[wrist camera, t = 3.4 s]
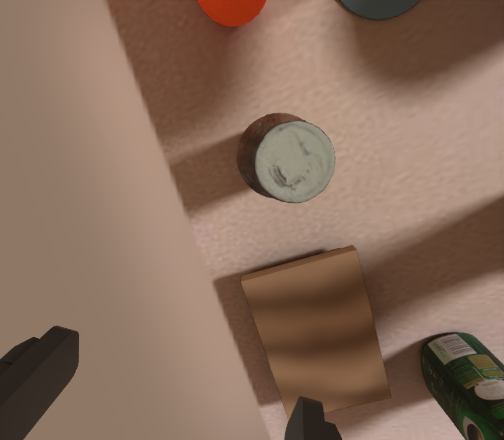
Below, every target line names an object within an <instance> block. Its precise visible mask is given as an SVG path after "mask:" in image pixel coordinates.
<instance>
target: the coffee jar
mask: <svg viewBox="0 0 504 440" xmlns="http://www.w3.org/2000/svg"><path fill="white" fill-rule="evenodd" d="M421 357H422V370H423V375H424V379H425V382H426V385H427V387H428V390H429V391H430V393H431V394H432V395H433V397H434V398H435V400H436V401H437V402H438V404H439V405H440V406H441V408H442V409H443V410H444V411H445V413H446V414H447V415H448V417H449V418H450V419H451V421H452V422H453V423H454V425H455V426H456V427H457V429H458V430H459V432H460V433H461V434H462V436H463V437H464V438H465V440H504V365H503V364H502V363H501V362H500V361H499V360H498V359H497V358H496V357H495V356H494V355H493V354H492V353H491V352H490V351H489V350H488V349H487V348H486V347H485V346H484V345H483V344H482V343H481V342H480V341H479V340H478V339H477V338H475V337H474V336H472V335H470V334H467V333H451V334H445V335H442V336H438V337H437V338H435V339H433V340H431V341H429V342H428V343H427V344H426V345H425V346H424V347H423V350H422V355H421Z"/></svg>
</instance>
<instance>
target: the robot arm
mask: <svg viewBox="0 0 504 440" xmlns="http://www.w3.org/2000/svg"><path fill="white" fill-rule="evenodd" d="M78 362H79V333H78V332H77V331H74V330H71V329H67V328H63V327H60V326H54V327H52V328H51V329H50V330H49V331H48V332H46V333H45V334H44V335H43V336H42V337H41V338H40V339H38V338H35V337H32V338H30V339H28V340H26V341H25V342H23V343H21V344H19V345H17V346H15V347H14V348H12V349H11V350H10V351H9V352H8V353H7V354H6V355H5V356H3V357H2V358H1V359H0V440H23V439H24V438H25V437H26V436H27V434H28V433H29V432H30V431H31V429H32V428H33V427H34V426H35V424H36V423H37V422H38V420H39V419H40V418H41V417H42V416H43V414H44V413H45V412H46V410H47V409H48V408H49V407H50V405H51V404H52V403H53V402H54V400H55V399H56V398H57V397H58V396H59V394H60V393H61V392H62V391H63V389H64V388H65V387H66V385H67V384H68V383H69V382H70V380H71V379H72V377H73V376H74V374H75V372H76V369H77V367H78ZM284 440H342V438H341V436H340V434H339V432H338V430H337V427H336V425H335V424H332V423H329V422H325V420H324V409H323V404H322V402H321V401H317V400H314V399H310V398H307V397H303V396H299V398H298V400H297V402H296V405H295V407H294V409H293V412H292V414H291V417H290V419H289V421H288V424H287V427H286V432H285V439H284Z"/></svg>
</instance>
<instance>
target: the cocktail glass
mask: <svg viewBox="0 0 504 440" xmlns="http://www.w3.org/2000/svg"><path fill="white" fill-rule="evenodd" d="M340 1H341V2H342V4H343V5H344V6H345V7H346V8H348V9H349V10H350V11H351V12H353V13H355V14H357V15H359V16H361V17H364V18H368V19H376V20H379V19H387V18H391V17H395V16H397V15H399V14H402V13H404V12H405V11H407V10H408V9H410V8H411V7H413V6H414V5H415V4H416V3H417V2H418V1H419V0H340Z"/></svg>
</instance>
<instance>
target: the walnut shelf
mask: <svg viewBox="0 0 504 440" xmlns="http://www.w3.org/2000/svg"><path fill="white" fill-rule="evenodd" d="M241 284H242V287H243V290H244V292H245V295H246V298H247V301H248V304H249V307H250V310H251V313H252V316H253V319H254V321H255V324H256V327H257V330H258V333H259V336H260V339H261V342H262V345H263V348H264V350H265V353H266V356H267V359H268V362H269V365H270V368H271V371H272V374H273V377H274V379H275V382H276V385H277V388H278V391H279V394H280V397H281V400H282V403H283V406H284V408H285V411H286V414H287V417H288V420H289V419H290V417H291V414H292V412H293V409H294V407H295V405H296V402H297V400H298V398H299V396H303V397H307V398H310V399H314V400H317V401H321V402H322V404H323V409H324V413H325V412H330V411H334V410H338V409H343V408H347V407H351V406H356V405H360V404H365V403H369V402H373V401H378V400H382V399H387V398H391V393H390V389H389V385H388V381H387V376H386V372H385V368H384V364H383V359H382V355H381V351H380V347H379V342H378V338H377V334H376V330H375V325H374V321H373V317H372V312H371V308H370V304H369V300H368V295H367V291H366V287H365V283H364V278H363V274H362V270H361V266H360V261H359V257H358V253H357V250H356V248H355V247H354V246H353V245H351V246H348V247H344V248H338V249H335V250H331V251H327V252H324V253H320V254H317V255H313V256H309V257H306V258H302V259H298V260H295V261H291V262H288V263H284V264H280V265H277V266H273V267H270V268H266V269H262V270H259V271H255V272H253V273H250V274H247V275H243V276H241Z"/></svg>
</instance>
